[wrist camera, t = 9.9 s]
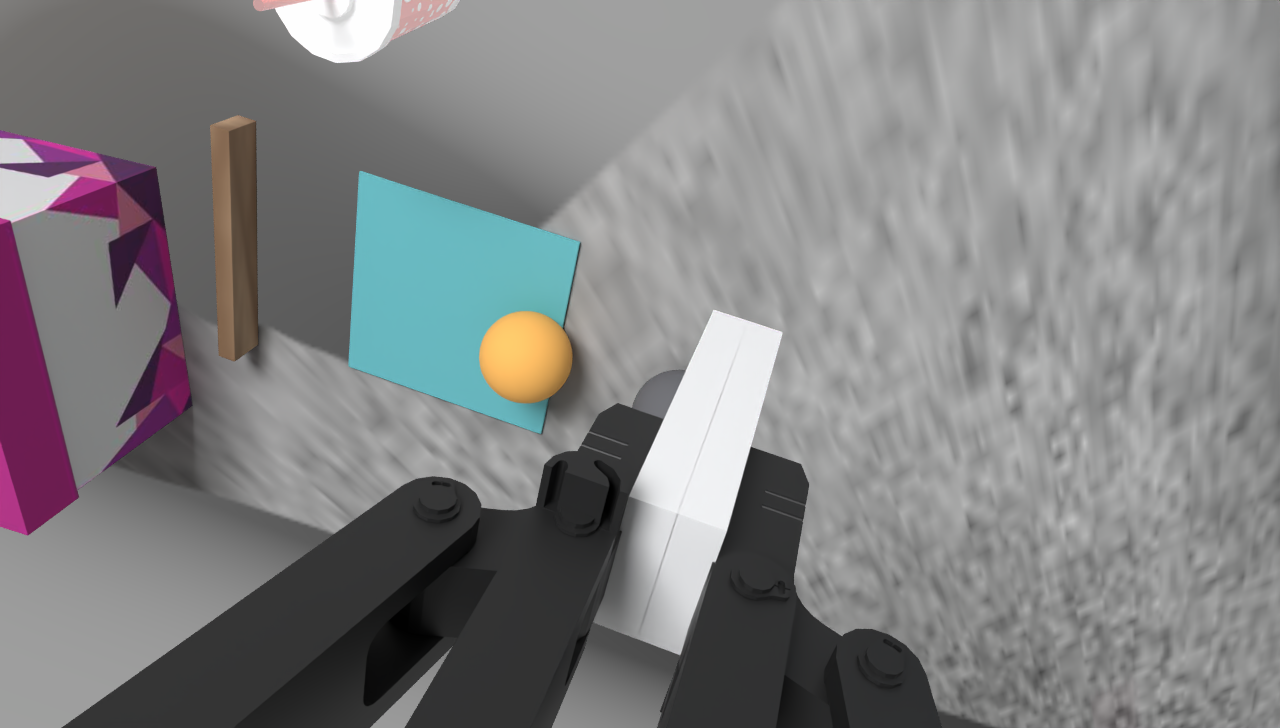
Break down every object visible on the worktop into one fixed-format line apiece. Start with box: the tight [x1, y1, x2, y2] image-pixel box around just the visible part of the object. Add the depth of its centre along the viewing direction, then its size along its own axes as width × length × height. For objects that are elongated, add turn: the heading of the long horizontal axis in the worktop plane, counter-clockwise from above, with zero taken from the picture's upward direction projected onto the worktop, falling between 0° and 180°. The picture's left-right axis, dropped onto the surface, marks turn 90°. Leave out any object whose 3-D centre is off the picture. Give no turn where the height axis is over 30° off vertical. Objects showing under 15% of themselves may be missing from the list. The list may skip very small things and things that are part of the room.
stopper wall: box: [210, 115, 258, 361], centre depth 56 cm, size 1×16×2 cm, turn 167°
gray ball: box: [632, 370, 686, 419], centre depth 52 cm, size 6×6×6 cm
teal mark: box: [349, 171, 580, 434], centre depth 56 cm, size 14×14×1 cm
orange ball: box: [479, 311, 572, 403], centre depth 53 cm, size 6×6×6 cm
